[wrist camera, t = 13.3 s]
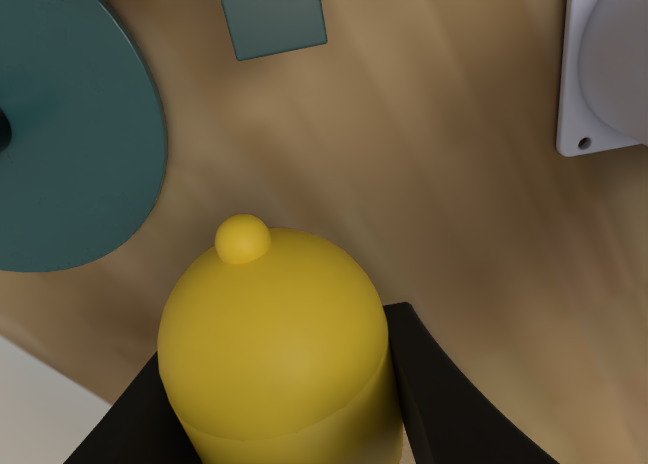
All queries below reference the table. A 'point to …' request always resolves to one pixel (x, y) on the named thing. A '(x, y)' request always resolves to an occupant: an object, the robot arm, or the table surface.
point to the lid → (74, 134)
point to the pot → (273, 26)
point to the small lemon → (280, 353)
